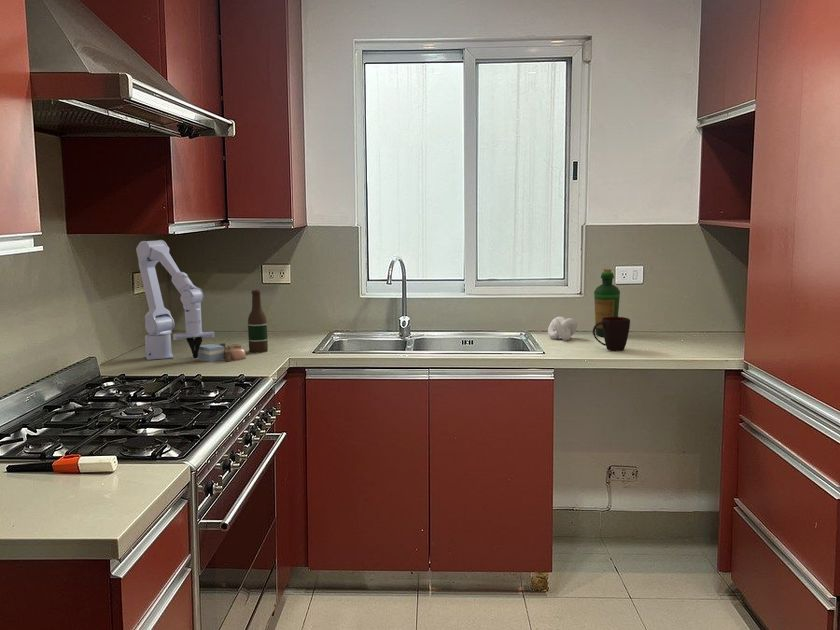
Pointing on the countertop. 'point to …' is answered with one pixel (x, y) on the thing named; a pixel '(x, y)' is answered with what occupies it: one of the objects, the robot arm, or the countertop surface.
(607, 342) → the cup
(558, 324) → the white lumpy piece
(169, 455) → the countertop surface
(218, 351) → the carton
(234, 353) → the pink rounded block
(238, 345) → the maple block
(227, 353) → the display stand
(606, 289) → the bottle
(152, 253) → the robot arm
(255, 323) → the beer bottle
